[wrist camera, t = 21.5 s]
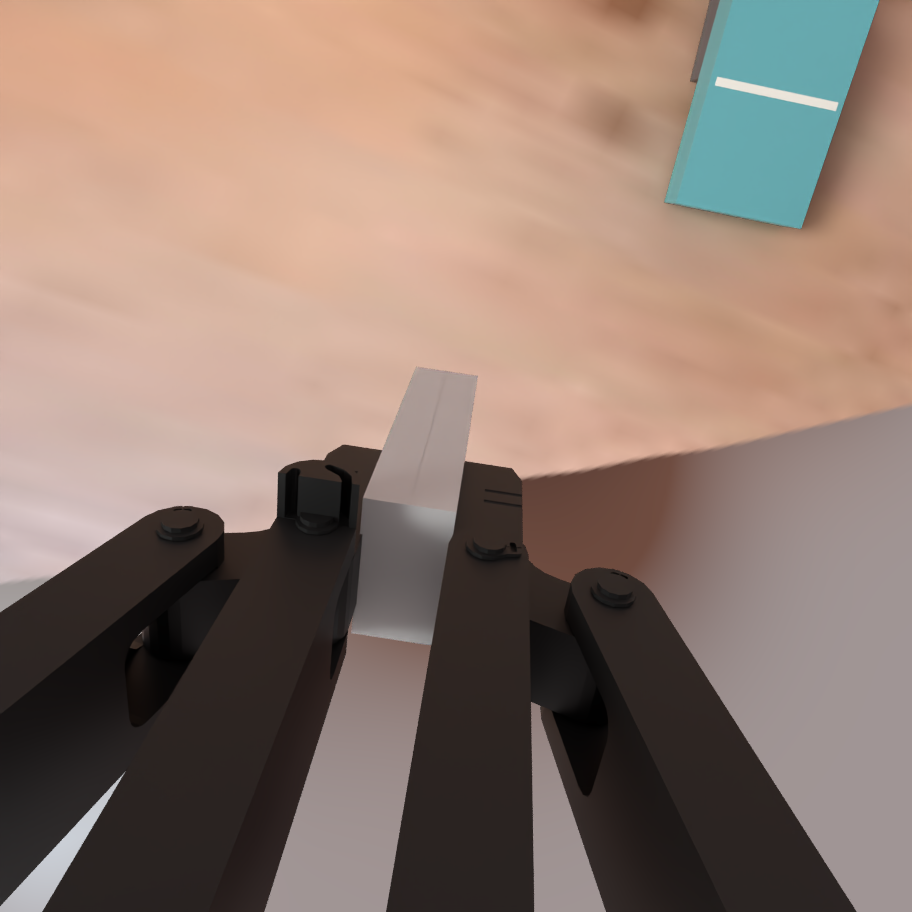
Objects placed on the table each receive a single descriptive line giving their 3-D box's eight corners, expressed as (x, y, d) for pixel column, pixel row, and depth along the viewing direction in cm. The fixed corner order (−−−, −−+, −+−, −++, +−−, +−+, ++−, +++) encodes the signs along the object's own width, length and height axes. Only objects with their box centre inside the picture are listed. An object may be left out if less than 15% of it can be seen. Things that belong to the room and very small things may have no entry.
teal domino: (801, 228, 39) (889, -28, 35) (675, 203, 39) (749, -59, 34) (782, 226, 41) (862, -14, 37) (664, 202, 41) (731, -44, 37)
